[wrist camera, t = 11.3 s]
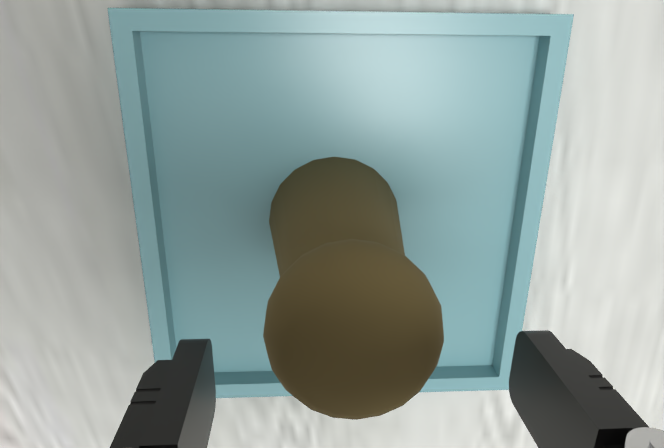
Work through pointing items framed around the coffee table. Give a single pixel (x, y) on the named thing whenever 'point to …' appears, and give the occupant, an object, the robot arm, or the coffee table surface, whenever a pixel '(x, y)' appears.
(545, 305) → the coffee table surface
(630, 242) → the coffee table surface
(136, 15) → the tray
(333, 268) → the cork
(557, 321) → the coffee table surface
